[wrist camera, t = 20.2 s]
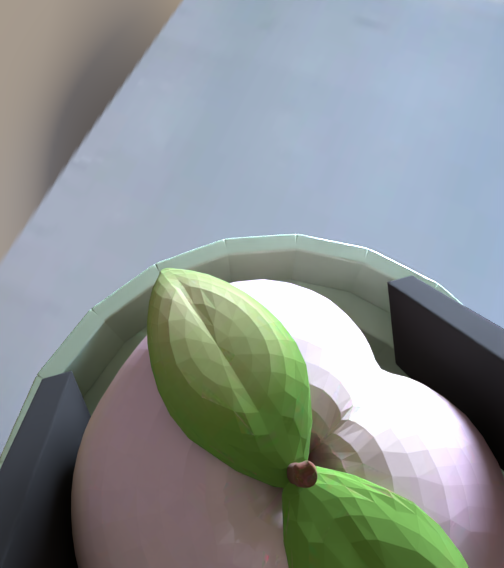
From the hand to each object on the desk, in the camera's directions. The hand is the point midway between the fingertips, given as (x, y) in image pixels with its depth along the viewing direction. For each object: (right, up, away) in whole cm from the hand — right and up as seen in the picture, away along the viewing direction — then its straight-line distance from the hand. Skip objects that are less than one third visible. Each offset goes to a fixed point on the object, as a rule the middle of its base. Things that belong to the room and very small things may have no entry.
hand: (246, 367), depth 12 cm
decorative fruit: (+1, -4, +2) cm, 5 cm away
